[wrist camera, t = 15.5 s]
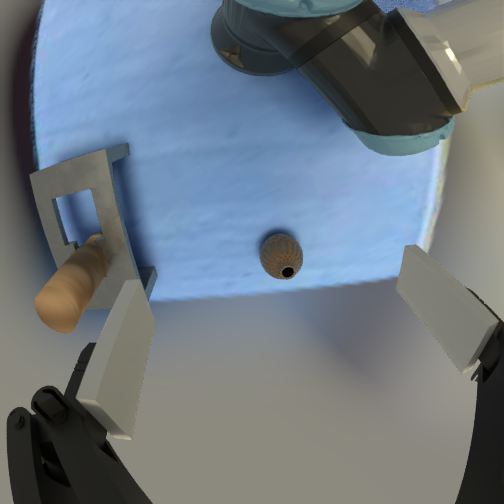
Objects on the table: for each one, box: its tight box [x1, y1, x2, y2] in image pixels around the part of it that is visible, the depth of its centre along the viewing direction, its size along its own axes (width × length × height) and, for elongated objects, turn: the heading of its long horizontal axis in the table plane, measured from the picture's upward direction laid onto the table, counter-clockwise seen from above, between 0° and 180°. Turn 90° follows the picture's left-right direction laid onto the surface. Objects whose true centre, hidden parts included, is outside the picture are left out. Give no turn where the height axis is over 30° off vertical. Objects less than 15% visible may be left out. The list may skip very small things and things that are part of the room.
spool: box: [35, 233, 108, 334], centre depth 32 cm, size 6×6×17 cm
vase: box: [260, 234, 303, 279], centre depth 44 cm, size 7×7×9 cm
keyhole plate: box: [30, 143, 157, 310], centre depth 38 cm, size 24×14×9 cm, turn 5°
